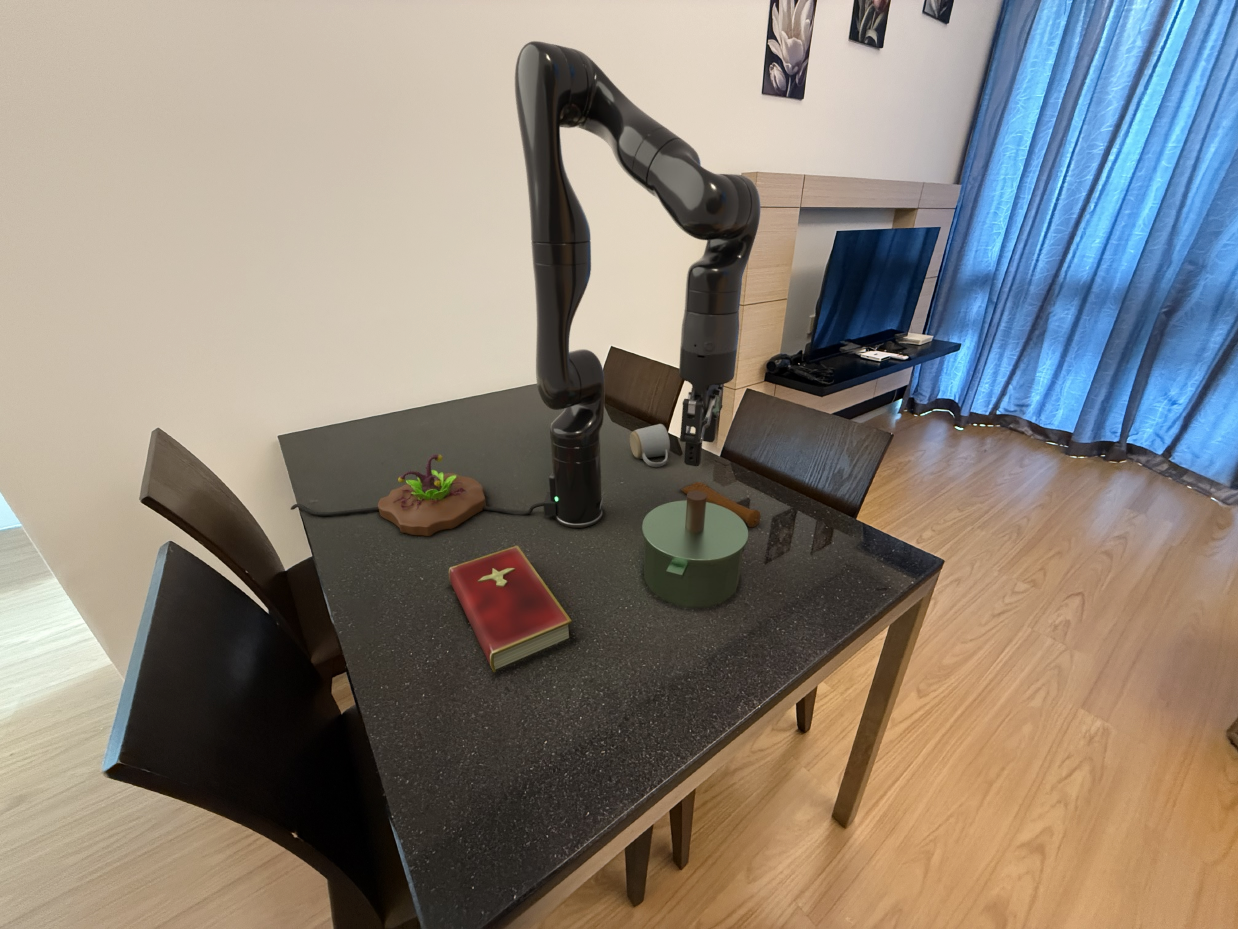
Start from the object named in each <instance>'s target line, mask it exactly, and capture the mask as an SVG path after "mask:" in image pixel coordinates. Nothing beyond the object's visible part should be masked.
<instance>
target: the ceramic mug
mask: <svg viewBox="0 0 1238 929" xmlns="http://www.w3.org/2000/svg"><path fill="white" fill-rule="evenodd" d="M629 444H630V450H631V453H632V454H633V456H634V457H635V458H636V459H638V460H641V459H642V460H643V462H645V464H646V465H648V466H650V467H652V468H660V467H663V466H665V465H666V463H667V462H668V458H669V454H670V450H671V441H670V436H669V433H668V430H667V428H666V426H665V425H664V424H662V423H658V424H654V425H650V426H646V427H642V428H637V429H635V430H633V431H631V433H630V435H629ZM663 456H664V459H663V460H662V461H659V462H654V461H651V460H650V459H649V458H658V457H663Z"/></svg>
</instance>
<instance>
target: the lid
mask: <svg viewBox="0 0 1238 929" xmlns="http://www.w3.org/2000/svg"><path fill="white" fill-rule="evenodd" d="M706 499H707V495H706V494H705V493H704V492H702V491H690V492H689V493H688V494H686V500H676V501H670V502H667V503H663V504H660V505H658V506H657V507H654V508H653V509H651V510H650V511H649V512H648V513H647V514H646V515H645V517H644V519H643V520H642V524H641V533H642V535H643V538H644V541H645V540H646V542H647V543H648V544H649V545H650V546H651V547H652V548H653V549H655V550H656V551H658V552H659V553H661V554H663V555H665V556H667V557H670V558H672V559H676V560H680V561H684V562H691V563H711V562H718V561H722V560H725V559H728V558H730V557H733V556H735V555H736V554H738V553H739V552H740V551H741V550H742V549H743V550H744V548H746V545H747V544H748V539H749V530H748V527H747V526H748V525H747V523H746V522H745V521H743V520H742V519H741V518H740V517H739V516H738V515H736V514H735V513H734V512H732V511H730V510H728V509H726V508H724V507H722V506H719V505H716V504H713V503H708V502H706Z"/></svg>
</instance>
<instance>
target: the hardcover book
mask: <svg viewBox="0 0 1238 929" xmlns="http://www.w3.org/2000/svg"><path fill="white" fill-rule="evenodd" d="M448 579H449V582H450V585H451V586H452V588H453V590H454V593H455V595H456V597H457V599H458V601H459V603H460V606H461V608H462V609H463V612H464V614H465V616H466V618H467V620H468V622H469V624H470V627H471V629H472V631H473V632H474V633H473V634H474V635H475V637H476V639H477V641H478V644H479V645H480V648H481V649H482V651H483V653H484V656H485V658H486V660H487V663H488V664H489V666H490V668H491V670H492V672H493V673H496V672H497V669H501V668H502V667H505V666H507V665H509V664H512V663H514V662H516V661H518V660H522V659H523V658H525V657H528V656H530V655H532V654H535V653H537V652H539V651H542V650H544V649H546V648H549V647H551V646H553V645H555V644H558V643H560V642H563V641H565V640H567V639H569V638H570V633H569V625H570V624H573V623H572V622H573V621H572V619H571V618H570V616H569V615H568V614H567V612H566V611H565V609H564V608H563V607H562V605H561V604H560V603H559V601H558V599H557V598H556V596H554V594H553V592H552V591H551V590H550V588H549V587H548V585H546V583H545V582H544V579H542V577H541V576H540V575H539V573H538V572H537V571H536V569H535V567H534V566H533V564H531V562H530V561H529V559H528V558H527V556H526V555H525V553H524V552H523V551H522V550H521V548H520V547H519V545H514V546H511V547H509V548H505V549H502V550H499V551H496V552H492V553H490V554H486V555H483V556H481V557H477V558H475V559H471V560H467V561H466V562H462V563H459V564H456V565H453V566H450V567H449V569H448Z"/></svg>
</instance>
